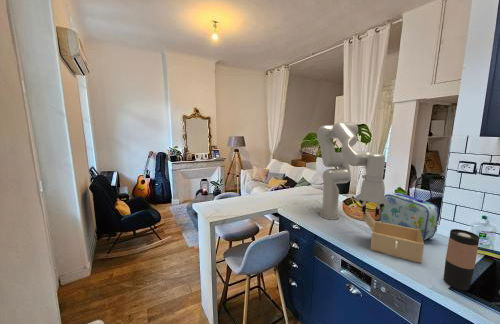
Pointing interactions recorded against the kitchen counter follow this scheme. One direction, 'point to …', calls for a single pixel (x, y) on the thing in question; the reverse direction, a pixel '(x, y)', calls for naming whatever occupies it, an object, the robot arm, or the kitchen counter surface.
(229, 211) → the kitchen counter surface
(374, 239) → the carton
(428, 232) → the lunch box
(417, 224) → the right flap
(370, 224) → the left flap
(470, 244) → the travel mug
